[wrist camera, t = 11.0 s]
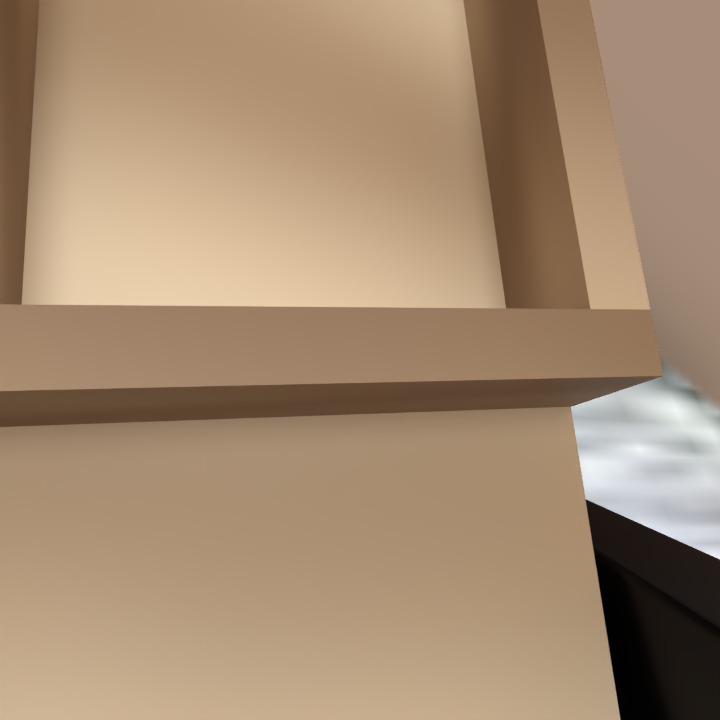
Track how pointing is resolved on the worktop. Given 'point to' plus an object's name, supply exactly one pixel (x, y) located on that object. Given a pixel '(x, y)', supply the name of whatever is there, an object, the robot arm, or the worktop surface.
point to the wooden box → (306, 358)
